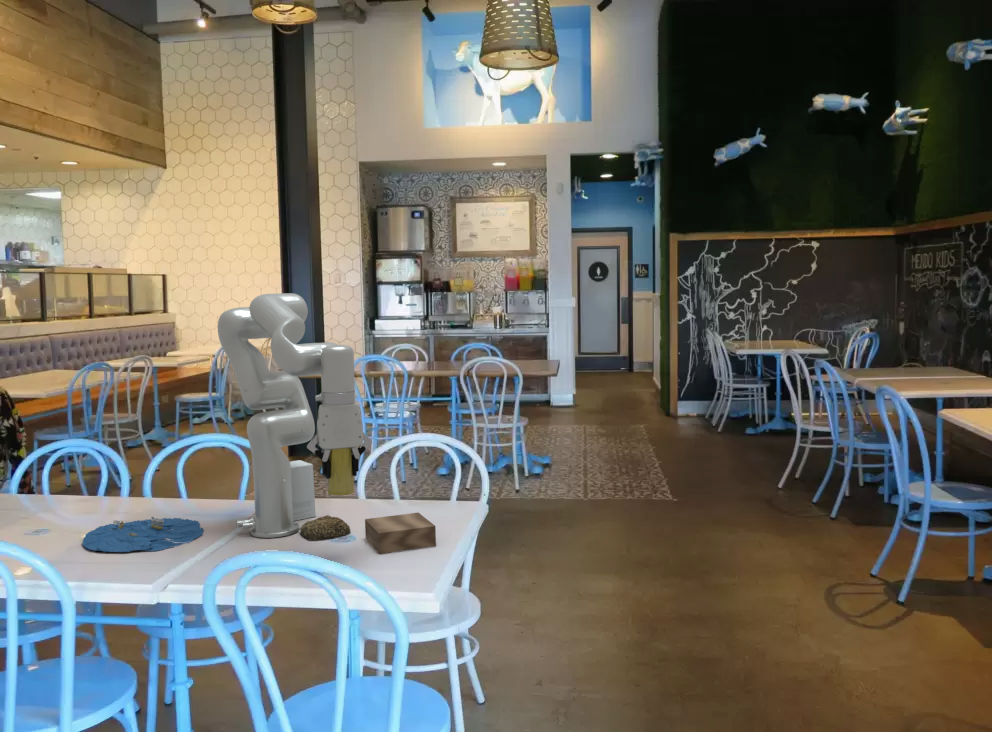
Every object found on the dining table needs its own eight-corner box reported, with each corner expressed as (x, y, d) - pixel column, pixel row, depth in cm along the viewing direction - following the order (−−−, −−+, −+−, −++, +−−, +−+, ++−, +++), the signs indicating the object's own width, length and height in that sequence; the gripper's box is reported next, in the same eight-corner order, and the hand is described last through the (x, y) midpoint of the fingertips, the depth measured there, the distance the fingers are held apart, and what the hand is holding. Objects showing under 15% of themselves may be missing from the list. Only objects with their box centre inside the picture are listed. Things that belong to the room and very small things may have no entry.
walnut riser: (379, 553, 203) (378, 533, 202) (365, 538, 215) (364, 519, 215) (436, 546, 208) (435, 525, 207) (419, 531, 221) (418, 512, 220)
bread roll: (305, 543, 213) (304, 524, 213) (297, 531, 225) (296, 512, 224) (356, 537, 218) (355, 518, 218) (345, 525, 230) (345, 507, 229)
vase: (328, 496, 196) (326, 435, 194) (326, 490, 202) (324, 430, 200) (355, 494, 197) (353, 433, 196) (352, 488, 203) (351, 428, 202)
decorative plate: (229, 529, 233) (229, 511, 232) (158, 562, 204) (158, 541, 204) (137, 520, 241) (136, 501, 240) (55, 550, 212) (55, 529, 211)
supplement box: (302, 511, 245) (300, 459, 243) (316, 517, 238) (314, 463, 236) (272, 516, 239) (269, 463, 238) (285, 523, 232) (283, 468, 231)
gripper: (303, 403, 191) (306, 483, 192) (379, 398, 197) (380, 476, 199) (298, 399, 198) (300, 476, 199) (371, 394, 204) (372, 469, 206)
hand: (340, 475), depth 199 cm, fingers closed on vase, 5 cm apart
